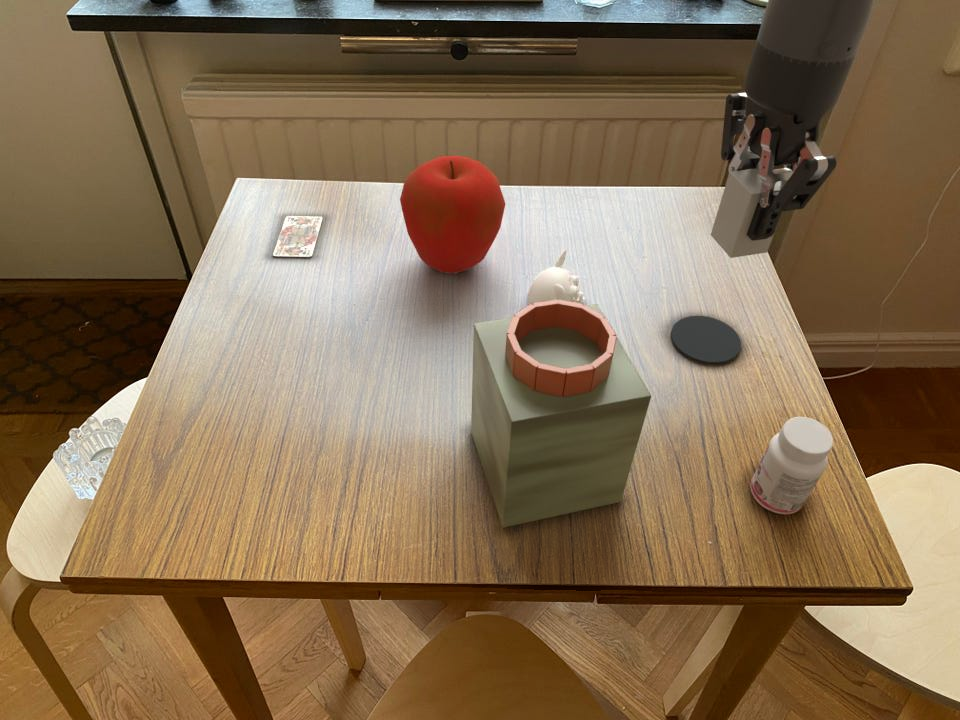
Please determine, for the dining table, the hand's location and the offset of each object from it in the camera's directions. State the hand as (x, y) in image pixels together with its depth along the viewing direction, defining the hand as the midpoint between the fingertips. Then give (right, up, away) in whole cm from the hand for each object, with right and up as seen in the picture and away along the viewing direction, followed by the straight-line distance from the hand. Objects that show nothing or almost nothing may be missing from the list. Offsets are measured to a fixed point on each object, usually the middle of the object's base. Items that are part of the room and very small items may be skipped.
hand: (745, 223), depth 68 cm
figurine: (-17, -8, +13) cm, 23 cm away
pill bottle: (+1, -25, -3) cm, 26 cm away
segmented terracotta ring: (-19, -13, -12) cm, 26 cm away
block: (0, -2, +2) cm, 2 cm away
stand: (-20, -23, -2) cm, 30 cm away
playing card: (-49, +3, +23) cm, 54 cm away
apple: (-29, -1, +20) cm, 35 cm away
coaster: (0, -11, +11) cm, 15 cm away
